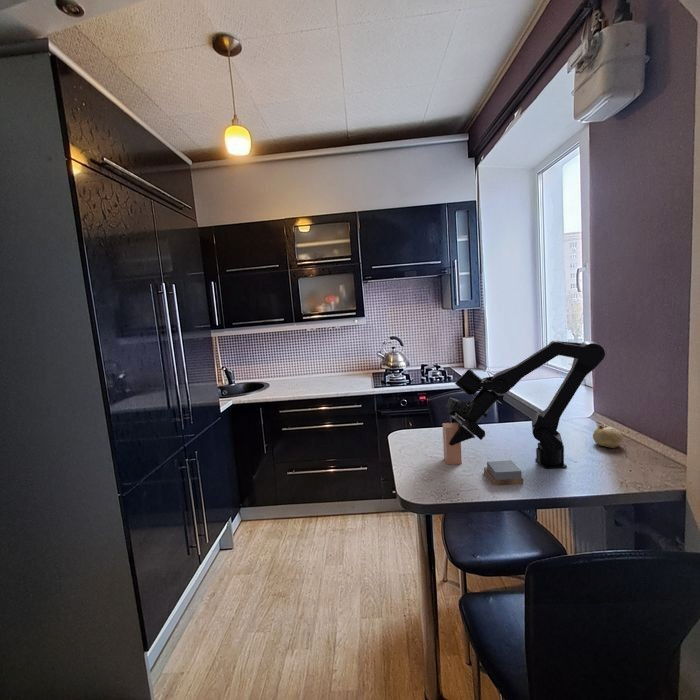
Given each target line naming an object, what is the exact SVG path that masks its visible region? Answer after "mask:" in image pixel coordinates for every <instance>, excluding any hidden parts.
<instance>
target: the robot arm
mask: <svg viewBox="0 0 700 700" xmlns="http://www.w3.org/2000/svg"><path fill="white" fill-rule="evenodd" d="M558 356H562V357H567V358H571V359H573V361H572V364H571V368H570V369H569V370H568V373H566V376H565V378H564V380H563V381H562V383H561V385H560V386H559V388H558V390H557V391H556V392H555V394H554V396H553V398H552V399H551V401H550V403H549V404H548V406H547V407H546V408H545V409H544V410H543V411H541V410H540V409H537V411H536V413H535V415H534V417H533V418H532V419H531V430H532V431H531V432H532V436H533V438H534V439H535V440H537V441H538V442H537V447H536V448H535V451H536V452H535V455H536V458H535V459H534V460H535V461H536V462H537V463H538V464H539V465H540V466H541V467H543V469H545V470H546V469H561V468H562V469H564V468H568V465H567V464H566V463H565V445H564V443H563V439H562V436H561V433H560V432H559V431H558V426H559V423H560V420H561V417H562V415H563V413H564V412H565V410H566V408H567V407H568V405H569V404H570V402H571V401H572V399H573V398H574V396H575V395H576V393H577V391H578V389H579V387H580V386H581V385H582V383H583V381H584V380H585V378H586V377H587V376H588V374H590V373H591V372H593V371H594V370H595V369H596V368H597V367H598V366H599V365H600V363H602V361H603V360H604V359H605V356H606V351H605V349H604V348H603V346H602V345H600V344H598V343H597V342H595V341H592V340H586V341H583V342H581V343H580V342H575V341H573V342H572V341H561V340H558V339H555V340H554V339H553V340H551V341H550V342H549V343H548V344H546V346H544V347H543V348H541V349H539V350H538V351H536V352H534V353H533V354H531V355H529V356H528V357H526V358H525V359H524V360H522V361H520V362H519V363H518V364H516V365H513V366H511V367H508V368H505V369H502V370H500V371H498V372H496V373H494V375H493V376H487V377H480V376H479V375H477V374H476V373H475V372H474V370H472V369H471V368H468V369H467V370H466V371H465V372H464V373H463V374H462V375H461V376H459V378H458V379H457V380H456V382H455V383H454V385H456V386H457V387H458V388H459V389H460V390H461V391H462V392H464V393H465V394H466V395H467V396H469V395H470V396H473V398H472V399H471V400H469V399H467V400H466V401H464V400H462V399H459V400H458V399H456V398H453V397H449V398H448V401H447V403H446V408H448V409H447V413H448V414H449V421H450V422H449V423H457V424H458V431H457V432H456V433H455V435H454V436H453V438H452V439H451V441H450V442H449V444H450V445H451V446H452V445H455V444H457V443H460V442H461V443H462V442H465V441H468V440H471V439H475V438H476V437H477V438H478V439H479V440H480V441H482V440H483V439H484V438H485V436H486V431H485V430H484V429H483V428H482V427H481V426H479V424H478V422H480V420H481V419H482V418H483V417H484V418H487V416H488V411H489V410H490V409H491V408H492V407H493V406H494V405H495V404H496V403H497V402H498V403H499V404H502V405H503V404H505V400H504V396H505V395H504V394H507V393H509V391H510V390H511V389H512V388H514V386H516V385H518V383H519V382H520V381H521V380H522V379H523V378H524V377H526V376H527V375H529V374H531V373H532V372H533V371H536V370H537V369H538V368H540V367H542V366H543V365H545V364H547V363H548V362H550V361H551V360H553V359H554V358H556V357H558ZM476 393H477V394H476ZM475 394H476V395H475ZM474 395H475V396H474Z"/></svg>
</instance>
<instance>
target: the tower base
mask: <svg viewBox="0 0 700 700" xmlns="http://www.w3.org/2000/svg"><path fill="white" fill-rule="evenodd" d="M483 472H484V474H485V475H486V477H487V478H488V480H489V479H490V480H489V481H490V483H491V484H492V485H493V486H494V485H495V486H509V485H523V484H524V478H523V477H522V479H506V480H495V478H494V477H493V476H492V474H491V473H490V472H489V471H488V469H487V466H486V467H483Z"/></svg>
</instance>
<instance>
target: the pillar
mask: <svg viewBox="0 0 700 700" xmlns="http://www.w3.org/2000/svg"><path fill="white" fill-rule="evenodd" d="M457 431H458V424H457V423H450V422H444V423H442V441H443V443H442V444H443V446H442V447H443V459H445V460H444V461H445V463H446V465H461V464H462V462H463V461H462V442H460V443H457V444H455V445H452V446H451V445H450V444H449V442H450V441H451V439H452V438H453V436H454V435H455V433H456V432H457Z"/></svg>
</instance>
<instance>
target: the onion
mask: <svg viewBox="0 0 700 700" xmlns="http://www.w3.org/2000/svg"><path fill="white" fill-rule="evenodd" d="M592 439H593V440H594V442H595V444H597V445H599V446H601V447H606V448H611V449H615V448H618V447H619V446H620V445H621V444H622V443H623V440H624V437H623V434H622V432H620V431H619V430H617V429H616V428H615V427H612V426H609V425H607V424H605V423H604V424H599V425H598V426H597V427H596V429H594V432H593V434H592Z"/></svg>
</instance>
